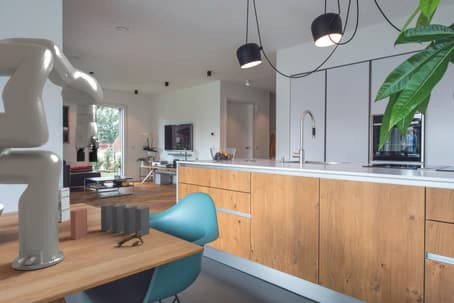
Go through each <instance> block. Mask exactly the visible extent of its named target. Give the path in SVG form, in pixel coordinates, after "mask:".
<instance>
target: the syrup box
mask: <svg viewBox="0 0 454 303" xmlns="http://www.w3.org/2000/svg"><path fill="white" fill-rule="evenodd" d="M70 208H71V207H70V187H59V188H58V223H63V222H66V221H69V220H71V213H70V211H71V209H70Z"/></svg>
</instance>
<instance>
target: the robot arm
mask: <svg viewBox="0 0 454 303" xmlns="http://www.w3.org/2000/svg"><path fill="white" fill-rule="evenodd" d="M0 77H7V78H8V77H9V79H8V80H7V82H6V83H5V85H4V86H3V89H2V93H1V99H2V104H3V109H4V112H0V185H27V187H26V188H25V189H24V190H23V192H22V193H21V194H20V197H19V199H18V203H17V206H18V207H17V209H18V210H17V215H18V223H17V224H18V257H16V258H14V259H13V260H12V262H11V267H12V268H13V269H15V270H17V271H18V270H19V271H30V270H32V271H33V270H38V269H43V268H47V267H50V266H54V265H57V264H58V263H60V262H61V261H63V260H64V259H65V257H66V256H65V255H66V253H65V251H63V250H60V249H59V247H60V245H59V243H60V242H59V240H60V239H59V236H60V235H59V222H58V188H60V187H59V186H60V180H61V179H60V178H61V174H62V169H63V168H62V167H63V165H62V164H63V162H62V158H61V157H60V156H59V155H58V154H57V153H55V152H53V151H51V150H46V149H44V150H43V149H34V148H41V147H43V146H45V145H46V144H47V143H48V142H49V138H50V136H49V135H50V133H49V126H48V121H47V117H46V112H45V106H44V101H43V90H44V87H45V84H46V81H47V80H49V81H50V83H52V84H53V85H55V86H57V87H61V88H62V89H61V91H60V95H61V99H62V100H63V101H64V103H66V104H68V105H74V106H76V107H75V108H76V111H75V112H76V113H75V114H76V117H75V118H76V119H75V120H76V121H75V122H76V123H75V124H76V125H75V129H74V130H75V131H74V147H75V149H76V150H75V152H76V162H77V163H79V162H85V161H86V152H85V149H86V148H88V150H89V151H88V162H89V163H97V162H98V152H99V147H100V140H99V139H98V127H97V123H98V120H97V119H98V116H97V115H98V114H97V113H98V112H97V110H98V105H100V104H101V103H102V102H103V100H104V92H103V89H102V87H101V85H100V83H99V82H98V81H97V79H96V78H95V77H93V76H92V75H91V74H90V73H87V72H85V71H83V70H80V69H79V68H77V67H74V66H73V65H72V63H71V62H70V61H69V59H68V58H67V56H66V55H65V53H64V52H63V51H62V49H61V48H60V47H59V45H58V44H56V43H55V42H54V41H53V40H50V39H46V38H37V37H36V38H35V37H33V38H32V37H9V38H3V39H0ZM32 148H33V149H32ZM13 149H14V150H13ZM15 149H17V150H15ZM18 149H19V150H18ZM20 149H21V150H20ZM22 149H25V150H22Z"/></svg>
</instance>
